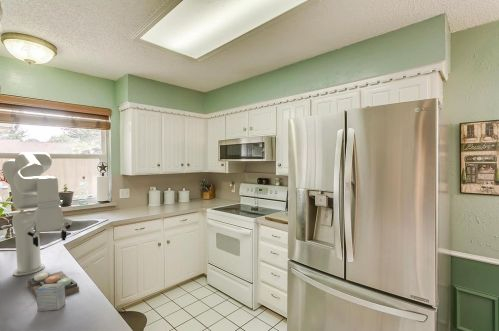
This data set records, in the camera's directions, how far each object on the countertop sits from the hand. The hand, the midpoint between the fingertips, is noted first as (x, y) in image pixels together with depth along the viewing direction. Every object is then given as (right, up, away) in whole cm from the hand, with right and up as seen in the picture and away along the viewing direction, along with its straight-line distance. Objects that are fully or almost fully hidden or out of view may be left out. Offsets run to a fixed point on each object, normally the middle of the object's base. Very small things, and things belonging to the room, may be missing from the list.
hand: (50, 242), depth 113 cm
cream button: (-8, -19, +5) cm, 21 cm away
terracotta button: (0, -18, +2) cm, 18 cm away
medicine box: (+11, -22, -14) cm, 28 cm away
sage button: (+7, -18, -2) cm, 20 cm away
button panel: (0, -21, +2) cm, 21 cm away
